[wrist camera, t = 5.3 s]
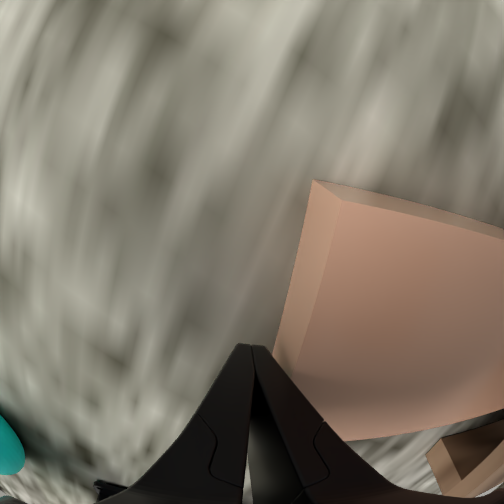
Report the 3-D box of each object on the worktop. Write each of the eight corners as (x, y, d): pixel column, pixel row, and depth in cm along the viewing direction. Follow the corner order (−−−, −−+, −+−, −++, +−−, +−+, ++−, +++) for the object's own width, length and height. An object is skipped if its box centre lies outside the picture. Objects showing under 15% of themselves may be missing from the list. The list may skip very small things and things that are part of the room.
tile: (261, 382, 12) (267, 442, 9) (309, 176, 9) (341, 199, 6) (501, 369, 13) (525, 400, 10) (558, 248, 10) (593, 271, 7)
